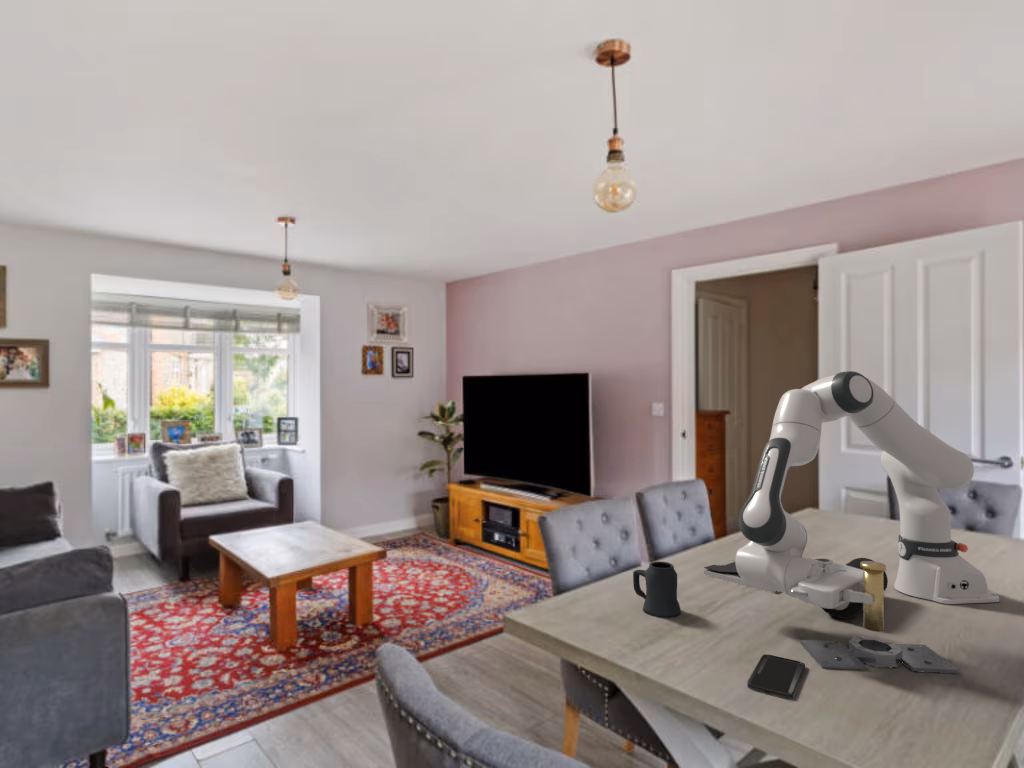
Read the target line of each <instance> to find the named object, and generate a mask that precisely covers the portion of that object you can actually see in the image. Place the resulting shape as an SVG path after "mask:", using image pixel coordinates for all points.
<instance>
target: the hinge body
mask: <svg viewBox="0 0 1024 768" xmlns="http://www.w3.org/2000/svg"><path fill="white" fill-rule="evenodd" d="M801 644H802V645H801ZM800 645H801V646H802V647H803V649H805V650H806V651H807V653H808V654H809V655H810V656H811V658H813V660H814V659H815V660H814V661H815V662H816V663H817V664H818V665H819V666H821V667H822V669H833V668H836V670H837V669H838V670H842V669H843V670H857V669H861V670H863V671H866V670H867V669H866V668H867V667H866V665H868V666H870V665H871V666H870V667H873V666H874V668H878V667H897V666H898V665H899V666H900V665H902V664H903V663H904V664H905V665H904V664H903V665H904V666H906V667H907V666H908V667H909V668H910V669H911V670H912V671H911V670H910V669H909V668H908V667H907V668H908V669H909V670H910V671H911V672H913V671H924V672H923V673H928V672H940V673H939V674H951V673H955V674H956V675H957V674H959V668H957V667H956V666H954V665H953V664H952V663H951V662H949V661H947V660H946V659H945V658H944V657H942V656H941V655H939V654H938V653H937V652H935V651H934V650H932V648H930V647H928V646H927V645H926V644H917V643H916V644H915V643H914V644H913V643H894V642H892V641H889V640H885V639H883V638H880V637H875V636H854V637H853V638H850V640H848V647H847V646H846V645H845V644H844V643H843V642H842V641H833V640H806V639H805V640H804V639H801V640H800ZM902 662H903V663H902ZM864 663H865V664H864ZM901 663H902V664H901ZM899 666H898V667H899ZM821 667H820V668H821ZM898 667H897V668H898ZM955 674H954V675H955Z"/></svg>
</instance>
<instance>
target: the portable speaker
mask: <svg viewBox="0 0 1024 768" xmlns="http://www.w3.org/2000/svg"><path fill="white" fill-rule="evenodd" d="M862 561H874V560H873V559H871V558H867V557H857V558H854V559H852V560H851V561H849V562H848V563H845V565H847V566H850V567H854V568H858V569H861V570H863V568H861V567H860V562H862ZM874 562H876V561H874ZM888 582H889V580H888V575H887V573H886V571H883V585H884V592H885V591H886V590H887V588H888V584H889V583H888ZM820 608H821V609H822V610H823V611H824V612H825V613H826V614H828V615H830V616H831V617H835V618H839V619H850V618H853V617H854V616H856V615H858V614H859V613H860V612H861V611H863V603H860V602H848V601H847V602H845V603H843V604H841V605H839V606H837V607H835V608H833V609H827V608H822V607H820Z"/></svg>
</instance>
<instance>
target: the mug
mask: <svg viewBox="0 0 1024 768" xmlns="http://www.w3.org/2000/svg"><path fill="white" fill-rule="evenodd" d="M632 573H633V575H632V579H633V581H632V583H633V589H634V592H635V594H636V595H637V596H639V597H641V598H642V599H644V603H643V606H642V611H643V613H645V614H646V615H647V616H648V615H649V616H651V617H654V618H661V619H662V618H663V619H666V618H667V619H671V618H676V617H679V616H680V615H682V614H681V613H682V611H681V606H680V603H679V601H678V573H677V571H676V570H675V567H674V564H672V563H671V562H668V561H652V562H650V563H649V565H648V567H647V568H646V570H645V569H635V570H633V571H632ZM640 576H641V577H643V578H644V580H645V586H646V589H645V590H646V592H644V591H643V589H641V586H640V584H641V583H640Z"/></svg>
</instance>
